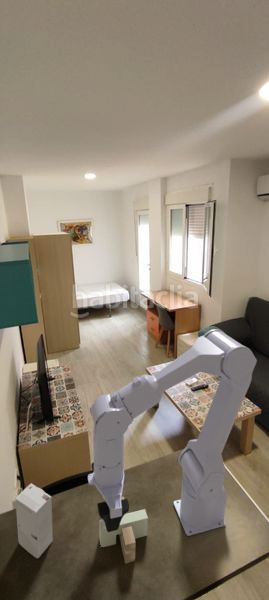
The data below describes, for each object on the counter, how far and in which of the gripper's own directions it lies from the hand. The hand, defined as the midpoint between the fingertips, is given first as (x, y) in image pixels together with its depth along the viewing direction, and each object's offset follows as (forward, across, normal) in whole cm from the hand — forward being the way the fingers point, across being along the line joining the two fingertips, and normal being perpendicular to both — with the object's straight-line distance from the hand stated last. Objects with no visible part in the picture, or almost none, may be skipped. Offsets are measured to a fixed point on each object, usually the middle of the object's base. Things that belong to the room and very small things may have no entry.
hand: (108, 510), depth 59 cm
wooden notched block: (+8, 0, +3) cm, 9 cm away
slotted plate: (+8, 0, +3) cm, 9 cm away
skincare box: (+8, -4, -15) cm, 17 cm away
